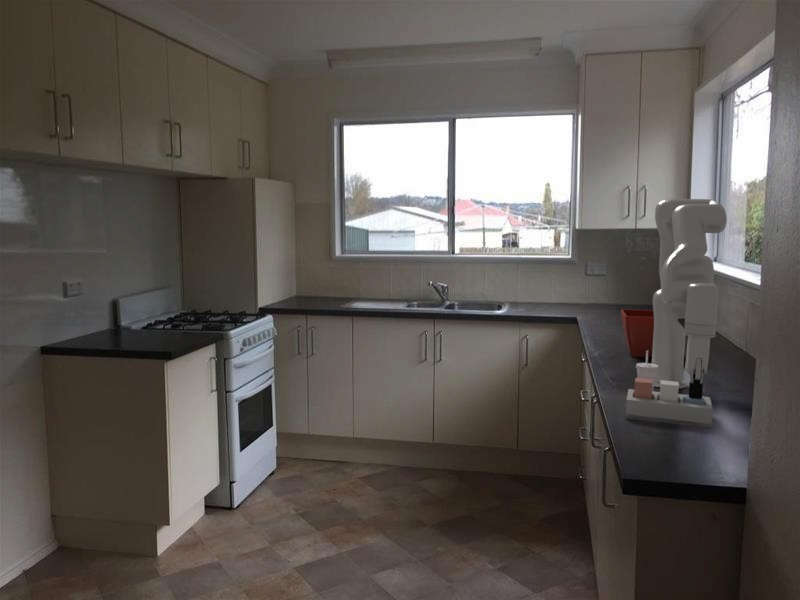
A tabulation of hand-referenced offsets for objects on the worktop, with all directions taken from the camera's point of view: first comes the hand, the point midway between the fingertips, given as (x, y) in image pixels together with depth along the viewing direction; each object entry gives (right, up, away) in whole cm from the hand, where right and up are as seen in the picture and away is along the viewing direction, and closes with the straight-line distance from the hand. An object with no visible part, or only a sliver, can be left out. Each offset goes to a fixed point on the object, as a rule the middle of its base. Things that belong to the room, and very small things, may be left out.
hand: (695, 397), depth 172 cm
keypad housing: (-6, -6, +3) cm, 9 cm away
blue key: (0, -4, +1) cm, 5 cm away
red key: (-12, 0, +5) cm, 13 cm away
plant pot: (+19, +4, +85) cm, 87 cm away
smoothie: (-4, -3, +24) cm, 25 cm away
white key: (-6, -1, +3) cm, 7 cm away
